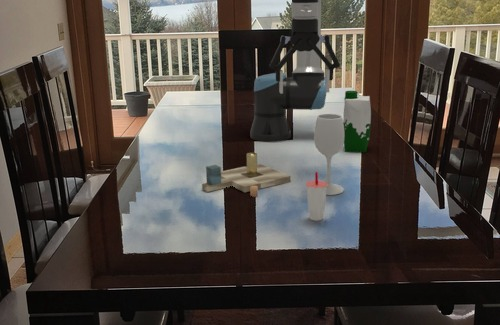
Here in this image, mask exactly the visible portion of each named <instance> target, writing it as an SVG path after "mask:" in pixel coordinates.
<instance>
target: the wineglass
mask: <svg viewBox="0 0 500 325" xmlns="http://www.w3.org/2000/svg"><path fill="white" fill-rule="evenodd" d="M314 125H315V126H314V132H313V139H314V145H315V148H316V149H317V151H318V152H319V153H320V154H322V156H324V157H325V158H326V177H325V178H326V180H325V182H326V183H328V185H327V191H326V196H335V195H339V194H343V192H344V191H345V189H344V187H342V186H341V185H340V184H335V183H332V181H331V163H332V158H333V157H334V156H335V155H336V154H338V153H340V151H341V150H342V148H343V147H344V124H343V116H342V115H341V114H337V113H322V114H319V115H317V116H316V119H315V124H314Z"/></svg>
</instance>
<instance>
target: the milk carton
mask: <svg viewBox="0 0 500 325" xmlns="http://www.w3.org/2000/svg"><path fill="white" fill-rule="evenodd" d="M344 92H345V93H344V95H345V96H344V106H343V107H344V108H343V116H342V119H343V124H344V144H343V147H344V152H345V153H365V154H366V153H367V149H368V146H369V143H370V142H369V141H370V138H371V137H370V136H371V120H372V117H371V116H372V110H371V98H370V97H371V96H370V95H367V96H366V95H358V91H357V90H345V91H344Z"/></svg>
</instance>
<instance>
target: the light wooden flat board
mask: <svg viewBox="0 0 500 325" xmlns="http://www.w3.org/2000/svg"><path fill="white" fill-rule="evenodd" d="M205 170H206V171H205V172H206V175H205V176H206V182H204V183H202V184H201V188H202V189H201V190H203V191H205V192H206V193H209V192H213V191H217V190H223V189H227V188H230V186H231V187H232V186H233V187H232V188H234V187H235V188H234V189H236V190H239V191H241V192H243V193H248V192H250V186H258V190H262V189H265V188H269V187H274V186H277V185H283V184H285V183H290V182H291V175H289V174H286V173H283V172H281V171H279V170H276V169H274V168H272V167H269V166H266V165H265V164H261V163H258V162H257V177H253V178H248V177H247V165H246V166H239V167H236V168H231V169H227V170H222V167H221V166H219V165H217V164H212V165H206V166H205ZM226 187H227V188H226ZM222 188H223V189H222Z"/></svg>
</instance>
